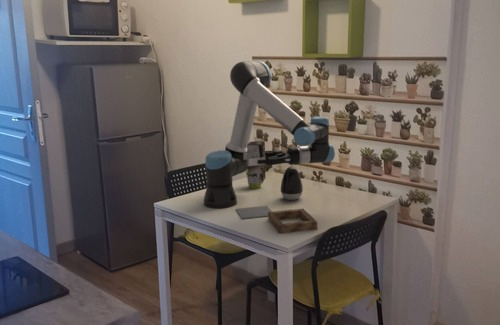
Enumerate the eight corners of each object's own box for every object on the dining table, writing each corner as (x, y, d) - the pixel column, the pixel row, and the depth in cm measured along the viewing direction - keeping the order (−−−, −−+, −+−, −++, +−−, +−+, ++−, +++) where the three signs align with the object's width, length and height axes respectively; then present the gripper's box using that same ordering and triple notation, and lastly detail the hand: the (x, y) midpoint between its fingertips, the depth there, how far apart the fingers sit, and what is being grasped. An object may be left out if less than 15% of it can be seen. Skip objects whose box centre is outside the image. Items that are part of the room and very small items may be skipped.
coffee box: (262, 183, 202) (262, 145, 199) (247, 183, 203) (246, 144, 200) (266, 178, 211) (265, 140, 207) (251, 177, 212) (250, 140, 209)
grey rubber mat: (241, 219, 204) (241, 218, 204) (235, 209, 216) (235, 208, 216) (274, 215, 207) (274, 214, 207) (267, 206, 219) (266, 205, 219)
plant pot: (265, 185, 254) (265, 168, 252) (262, 190, 245) (261, 173, 243) (248, 184, 256) (247, 168, 254) (243, 189, 247) (243, 172, 245)
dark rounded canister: (302, 195, 235) (302, 164, 231) (302, 201, 225) (302, 169, 221) (281, 195, 236) (280, 164, 232) (280, 201, 226) (279, 169, 222)
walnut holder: (279, 233, 187) (279, 225, 186) (268, 219, 203) (268, 212, 203) (317, 229, 190) (317, 221, 189) (303, 215, 206) (303, 208, 206)
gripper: (306, 170, 199) (252, 174, 194) (290, 158, 220) (241, 162, 216) (306, 151, 197) (252, 155, 193) (290, 142, 219) (240, 145, 214)
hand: (246, 159), depth 204 cm, fingers closed on coffee box, 10 cm apart
